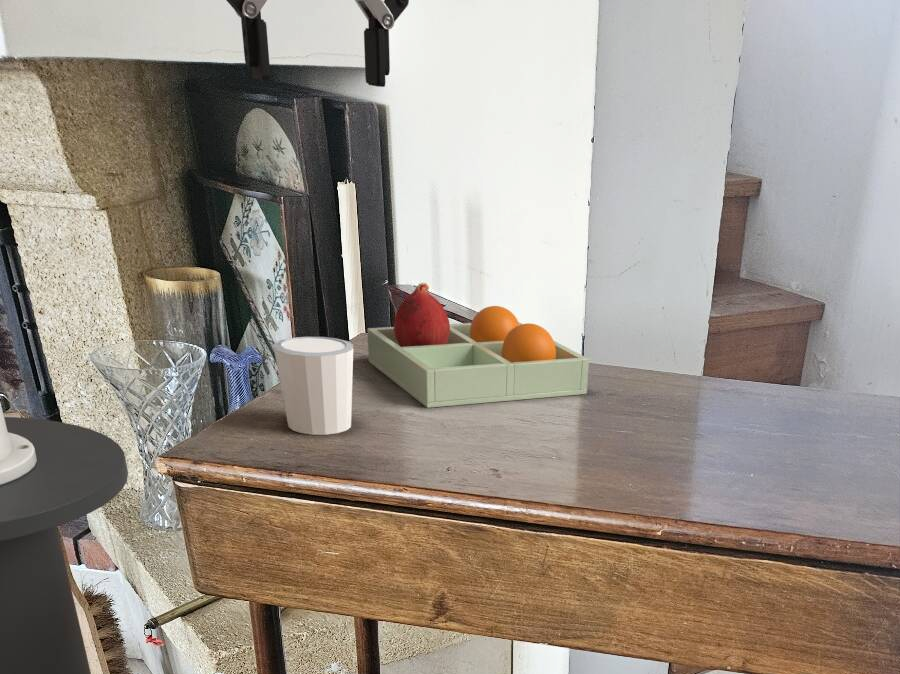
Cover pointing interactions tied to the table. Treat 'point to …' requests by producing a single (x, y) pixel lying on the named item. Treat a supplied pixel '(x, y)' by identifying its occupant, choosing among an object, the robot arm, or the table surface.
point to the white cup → (316, 383)
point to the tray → (473, 370)
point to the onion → (421, 320)
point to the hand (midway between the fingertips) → (319, 82)
